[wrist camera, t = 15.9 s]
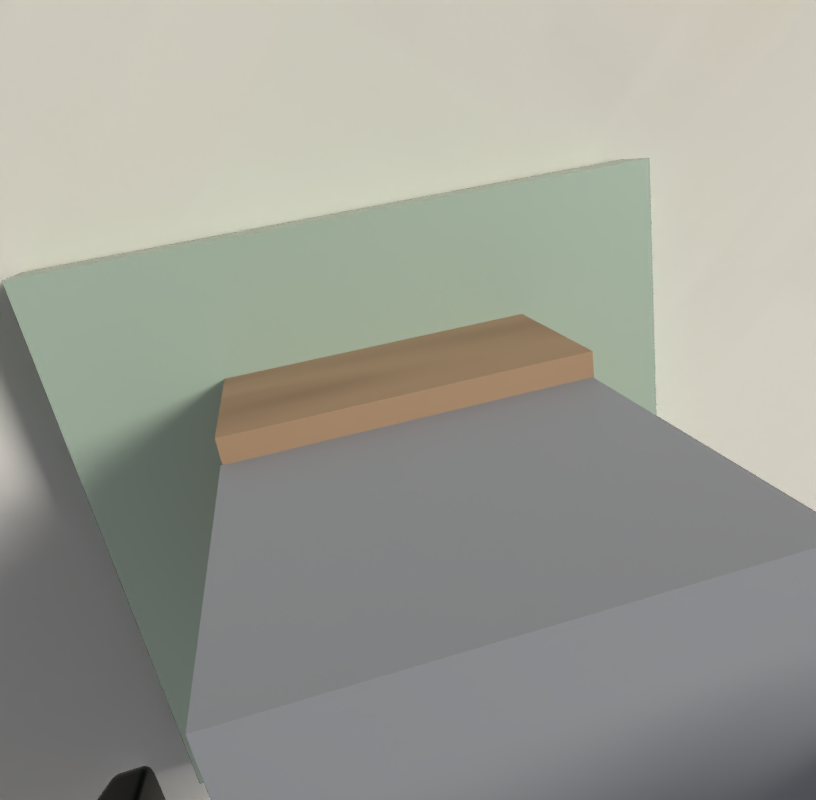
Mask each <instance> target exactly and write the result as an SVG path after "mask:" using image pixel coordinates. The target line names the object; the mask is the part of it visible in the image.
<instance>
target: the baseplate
mask: <svg viewBox="0 0 816 800" xmlns="http://www.w3.org/2000/svg"><path fill="white" fill-rule="evenodd" d="M2 283H3V285H4V288H5V290H6V293H7V295H8V298H9V300H10V303H11V306H12V308H13V311H14V313H15V316H16V318H17V321H18V323H19V326H20V328H21V331H22V333H23V336H24V339H25V341H26V344H27V346H28V349H29V351H30V354H31V356H32V359H33V361H34V364H35V366H36V369H37V372H38V374H39V377H40V379H41V382H42V384H43V387H44V389H45V392H46V394H47V397H48V399H49V402H50V405H51V407H52V410H53V412H54V415H55V417H56V420H57V422H58V425H59V427H60V430H61V432H62V435H63V438H64V440H65V443H66V445H67V448H68V450H69V453H70V455H71V458H72V460H73V463H74V465H75V468H76V471H77V473H78V476H79V478H80V481H81V483H82V486H83V488H84V491H85V493H86V496H87V498H88V501H89V504H90V506H91V509H92V511H93V514H94V516H95V519H96V521H97V524H98V526H99V529H100V531H101V534H102V537H103V539H104V542H105V544H106V547H107V549H108V552H109V554H110V557H111V559H112V562H113V564H114V567H115V570H116V572H117V575H118V577H119V580H120V582H121V585H122V587H123V590H124V592H125V595H126V597H127V600H128V603H129V605H130V608H131V610H132V613H133V615H134V618H135V620H136V623H137V625H138V628H139V630H140V633H141V636H142V638H143V641H144V643H145V646H146V648H147V651H148V653H149V656H150V658H151V661H152V663H153V666H154V668H155V671H156V674H157V676H158V679H159V681H160V684H161V686H162V689H163V691H164V694H165V696H166V699H167V701H168V704H169V707H170V709H171V712H172V714H173V717H174V719H175V722H176V724H177V727H178V729H179V732H180V734H181V737H182V740H183V742H184V745H185V747H186V750H187V752H188V755H189V757H190V760H191V762H192V765H193V767H194V770H195V773H196V775H197V778H198V780H199V783H204V781H203V779H202V776H201V773H200V771H199V768H198V766H197V763H196V761H195V758H194V755H193V753H192V750H191V748H190V745H189V743H188V740H187V737H186V727H187V719H188V712H189V704H190V696H191V689H192V681H193V673H194V665H195V658H196V650H197V642H198V635H199V627H200V619H201V612H202V604H203V596H204V589H205V581H206V573H207V566H208V558H209V550H210V543H211V535H212V527H213V520H214V512H215V504H216V497H217V489H218V481H219V474H220V466H221V465H222V462H221V458H220V455H219V451H218V448H217V445H216V441H215V433H216V427H217V421H218V415H219V409H220V403H221V397H222V391H223V385H224V379H226V378H231V377H235V376H240V375H244V374H249V373H254V372H258V371H263V370H267V369H272V368H276V367H281V366H286V365H290V364H295V363H299V362H304V361H308V360H313V359H318V358H322V357H327V356H331V355H336V354H340V353H345V352H350V351H354V350H359V349H363V348H368V347H372V346H377V345H382V344H386V343H391V342H395V341H400V340H404V339H409V338H413V337H418V336H423V335H427V334H432V333H436V332H441V331H445V330H450V329H455V328H459V327H464V326H468V325H473V324H477V323H482V322H487V321H491V320H496V319H500V318H505V317H509V316H514V315H519V314H523V315H525V316H527V317H529V318H531V319H533V320H535V321H536V322H538V323H540V324H542V325H544V326H546V327H548V328H550V329H552V330H554V331H555V332H557V333H559V334H561V335H563V336H565V337H567V338H569V339H571V340H573V341H574V342H576V343H578V344H580V345H582V346H584V347H586V348H588V349H590V350H592V351H593V366H594V378H595V379H597V380H598V381H600V382H602V383H603V384H605V385H607V386H608V387H610V388H612V389H613V390H615V391H617V392H618V393H620V394H622V395H623V396H625V397H626V398H628V399H630V400H631V401H633V402H635V403H636V404H638V405H640V406H641V407H643V408H645V409H646V410H648V411H650V412H651V413H653V414H655V415H656V387H655V350H654V313H653V275H652V238H651V200H650V163H649V158H639V159H621V160H616V161H611V162H605V163H600V164H595V165H589V166H584V167H579V168H573V169H568V170H563V171H558V172H552V173H547V174H542V175H536V176H531V177H526V178H520V179H515V180H510V181H505V182H499V183H494V184H489V185H483V186H478V187H473V188H467V189H462V190H457V191H451V192H446V193H441V194H436V195H430V196H425V197H420V198H414V199H409V200H404V201H398V202H393V203H388V204H383V205H377V206H372V207H367V208H361V209H356V210H351V211H345V212H340V213H335V214H329V215H324V216H319V217H314V218H308V219H303V220H298V221H292V222H287V223H282V224H276V225H271V226H266V227H261V228H255V229H250V230H245V231H239V232H234V233H229V234H223V235H218V236H213V237H208V238H202V239H197V240H192V241H186V242H181V243H176V244H170V245H165V246H160V247H154V248H149V249H144V250H139V251H133V252H128V253H123V254H117V255H112V256H107V257H101V258H96V259H91V260H86V261H80V262H75V263H70V264H64V265H59V266H54V267H48V268H43V269H38V270H32V271H27V272H22V273H19V274H17V275H15V276H12V277H10V278H7V279H5V280H2Z"/></svg>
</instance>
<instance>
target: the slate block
mask: <svg viewBox="0 0 816 800" xmlns="http://www.w3.org/2000/svg"><path fill="white" fill-rule="evenodd" d="M186 737H187V740H188V743H189V745H190V748H191V750H192V753H193V755H194V758H195V761H196V763H197V766H198V768H199V771H200V773H201V776H202V779H203V781H204V784H205V786H206V789H207V792H208V794H209V797H210V799H211V800H816V512H815V511H813V510H812V509H810V508H808V507H807V506H805V505H804V504H802V503H800V502H799V501H797V500H795V499H794V498H792V497H790V496H789V495H787V494H785V493H784V492H782V491H780V490H779V489H777V488H775V487H774V486H772V485H770V484H769V483H767V482H765V481H764V480H762V479H760V478H759V477H757V476H756V475H754V474H752V473H751V472H749V471H747V470H746V469H744V468H742V467H741V466H739V465H737V464H736V463H734V462H732V461H731V460H729V459H727V458H726V457H724V456H722V455H721V454H719V453H717V452H716V451H714V450H713V449H711V448H709V447H708V446H706V445H704V444H703V443H701V442H699V441H698V440H696V439H694V438H693V437H691V436H689V435H688V434H686V433H684V432H683V431H681V430H679V429H678V428H676V427H674V426H673V425H671V424H669V423H668V422H666V421H665V420H663V419H661V418H660V417H658V416H656V415H655V414H653V413H651V412H650V411H648V410H646V409H645V408H643V407H641V406H640V405H638V404H636V403H635V402H633V401H631V400H630V399H628V398H626V397H625V396H623V395H622V394H620V393H618V392H617V391H615V390H613V389H612V388H610V387H608V386H607V385H605V384H603V383H602V382H600V381H598V380H597V379H595V378H593V377H590V378H586V379H582V380H577V381H573V382H569V383H565V384H561V385H556V386H552V387H548V388H544V389H540V390H536V391H531V392H527V393H523V394H519V395H515V396H510V397H506V398H502V399H498V400H494V401H489V402H485V403H481V404H477V405H473V406H468V407H464V408H460V409H456V410H452V411H447V412H443V413H439V414H435V415H431V416H426V417H422V418H418V419H414V420H410V421H406V422H401V423H397V424H393V425H389V426H385V427H380V428H376V429H372V430H368V431H364V432H359V433H355V434H351V435H347V436H343V437H338V438H334V439H330V440H326V441H322V442H317V443H313V444H309V445H305V446H301V447H296V448H292V449H288V450H284V451H280V452H276V453H271V454H267V455H263V456H259V457H255V458H250V459H246V460H242V461H238V462H234V463H229V464H225V465H221V466H220V474H219V481H218V489H217V497H216V504H215V512H214V520H213V527H212V535H211V543H210V550H209V558H208V566H207V573H206V581H205V589H204V596H203V604H202V612H201V619H200V627H199V635H198V642H197V650H196V658H195V665H194V673H193V681H192V689H191V696H190V704H189V712H188V719H187V727H186Z"/></svg>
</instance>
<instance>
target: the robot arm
mask: <svg viewBox="0 0 816 800" xmlns="http://www.w3.org/2000/svg"><path fill="white" fill-rule="evenodd" d="M98 800H165V797H164V795H163V793H162V790H161V788H160V786H159V783H158V781H157V779H156V776H155V774H154V772H153V770H152V769H151V768H150V767H148V766H143V767H139V768H136V769H133V770H129V771H126V772H123V773H120V774H118V775H116V776H115V777H114V778H113V779H112V780H111V781H110V782H109V784H108V785H107V787H106V788H105V790H104V791H103V792H102V794H101V795H100V797H99V798H98Z"/></svg>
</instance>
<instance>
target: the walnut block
mask: <svg viewBox="0 0 816 800" xmlns="http://www.w3.org/2000/svg"><path fill="white" fill-rule="evenodd" d="M590 377H593V378H594V366H593V351H592V350H590V349H588V348H586V347H584V346H582V345H580V344H578V343H576V342H574V341H573V340H571V339H569V338H567V337H565V336H563V335H561V334H559V333H557V332H555V331H554V330H552V329H550V328H548V327H546V326H544V325H542V324H540V323H538V322H536V321H535V320H533V319H531V318H529V317H527V316H525V315H523V314H519V315H514V316H509V317H505V318H500V319H496V320H491V321H487V322H482V323H477V324H473V325H468V326H464V327H459V328H455V329H450V330H445V331H441V332H436V333H432V334H427V335H423V336H418V337H413V338H409V339H404V340H400V341H395V342H391V343H386V344H382V345H377V346H372V347H368V348H363V349H359V350H354V351H350V352H345V353H340V354H336V355H331V356H327V357H322V358H318V359H313V360H308V361H304V362H299V363H295V364H290V365H286V366H281V367H276V368H272V369H267V370H263V371H258V372H254V373H249V374H244V375H240V376H235V377H231V378H226V379H224V385H223V391H222V397H221V403H220V409H219V415H218V421H217V427H216V433H215V441H216V445H217V448H218V451H219V455H220V458H221V462H222V465H225V464H229V463H234V462H238V461H242V460H246V459H250V458H255V457H259V456H263V455H267V454H271V453H276V452H280V451H284V450H288V449H292V448H296V447H301V446H305V445H309V444H313V443H317V442H322V441H326V440H330V439H334V438H338V437H343V436H347V435H351V434H355V433H359V432H364V431H368V430H372V429H376V428H380V427H385V426H389V425H393V424H397V423H401V422H406V421H410V420H414V419H418V418H422V417H426V416H431V415H435V414H439V413H443V412H447V411H452V410H456V409H460V408H464V407H468V406H473V405H477V404H481V403H485V402H489V401H494V400H498V399H502V398H506V397H510V396H515V395H519V394H523V393H527V392H531V391H536V390H540V389H544V388H548V387H552V386H556V385H561V384H565V383H569V382H573V381H577V380H582V379H586V378H590Z"/></svg>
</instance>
